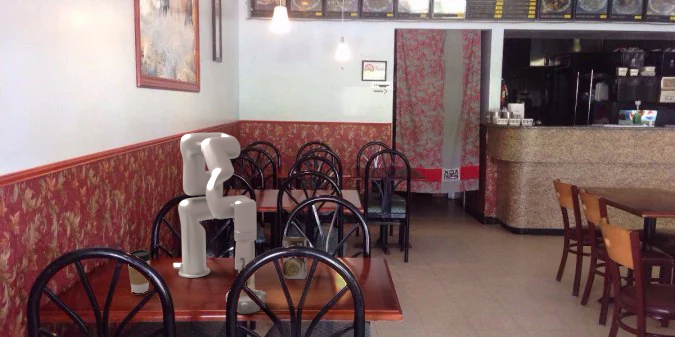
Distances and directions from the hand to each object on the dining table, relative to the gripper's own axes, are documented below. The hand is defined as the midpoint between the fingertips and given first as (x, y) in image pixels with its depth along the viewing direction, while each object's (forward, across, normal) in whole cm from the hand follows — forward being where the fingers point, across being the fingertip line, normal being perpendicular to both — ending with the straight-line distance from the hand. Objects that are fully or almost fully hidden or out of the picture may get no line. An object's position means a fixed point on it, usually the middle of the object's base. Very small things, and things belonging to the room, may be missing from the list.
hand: (246, 283), depth 190 cm
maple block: (+4, 0, 0) cm, 4 cm away
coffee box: (+8, -34, +12) cm, 37 cm away
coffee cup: (+8, -11, -43) cm, 45 cm away
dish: (+9, 0, 0) cm, 9 cm away
